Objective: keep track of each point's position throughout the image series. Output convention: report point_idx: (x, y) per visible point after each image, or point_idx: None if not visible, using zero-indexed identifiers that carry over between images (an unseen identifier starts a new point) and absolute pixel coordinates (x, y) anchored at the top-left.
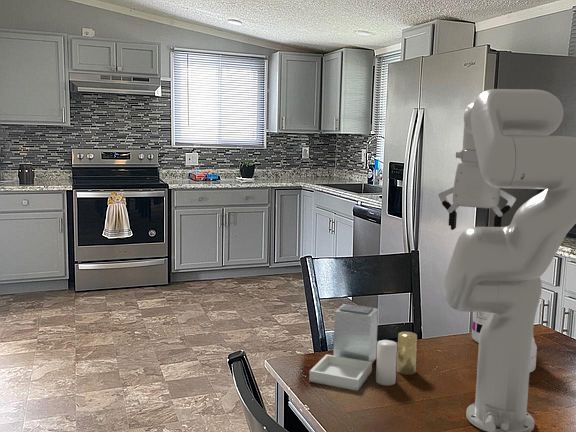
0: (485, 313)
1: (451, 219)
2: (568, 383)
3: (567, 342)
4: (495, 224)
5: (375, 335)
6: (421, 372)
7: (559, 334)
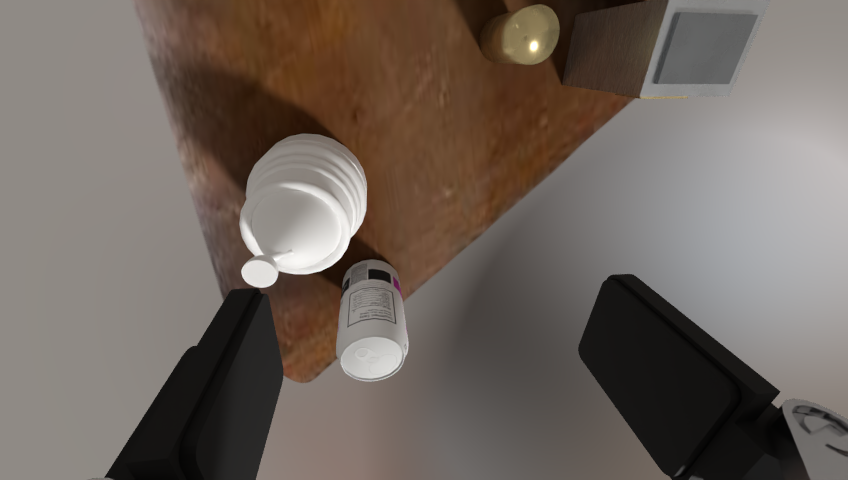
0: (375, 295)
1: (703, 331)
2: (177, 131)
3: None
4: (213, 353)
5: (598, 72)
6: (467, 47)
7: None
